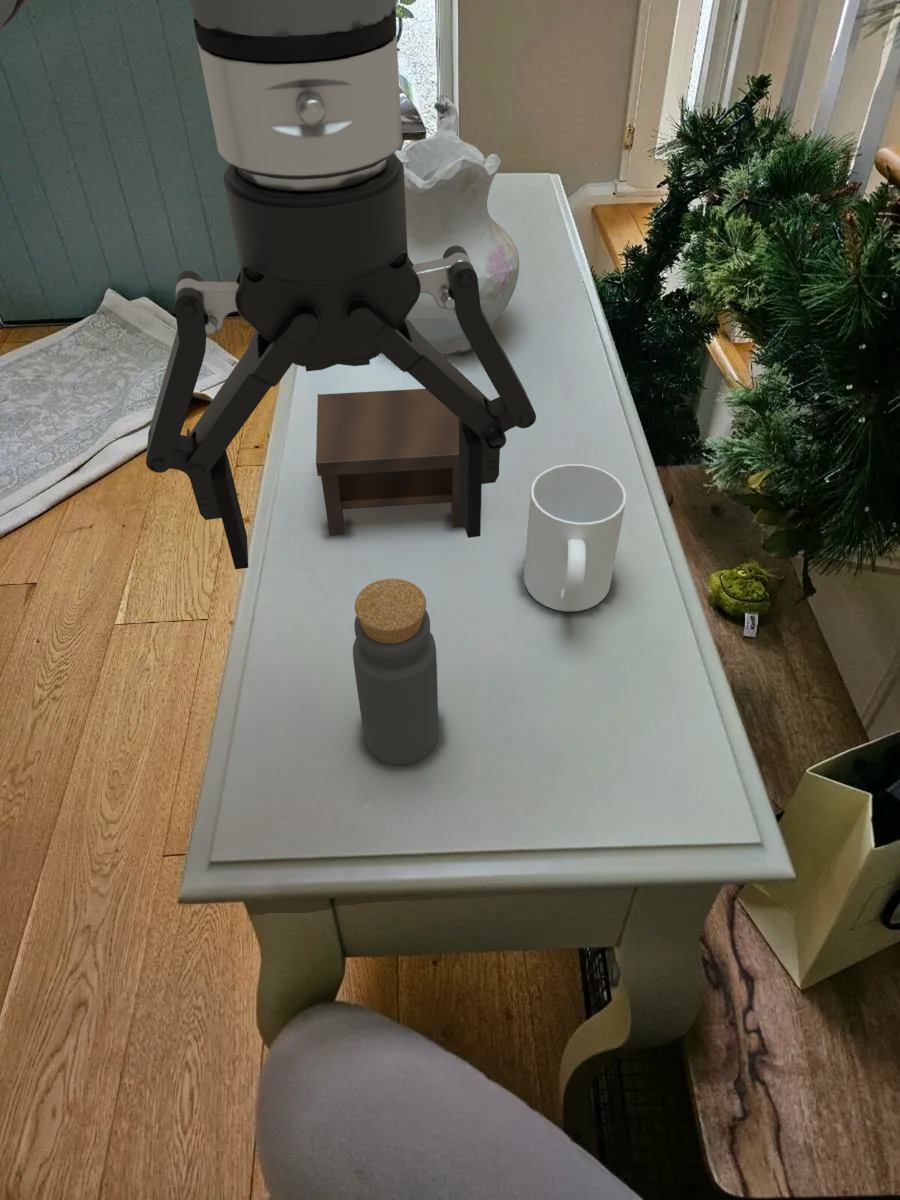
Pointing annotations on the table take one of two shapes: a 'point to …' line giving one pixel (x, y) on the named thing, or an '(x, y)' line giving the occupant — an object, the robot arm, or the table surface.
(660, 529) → the table surface
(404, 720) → the bottle
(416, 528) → the table surface
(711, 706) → the table surface
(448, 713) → the table surface
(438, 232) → the ceramic pitcher
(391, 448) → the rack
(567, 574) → the mug
